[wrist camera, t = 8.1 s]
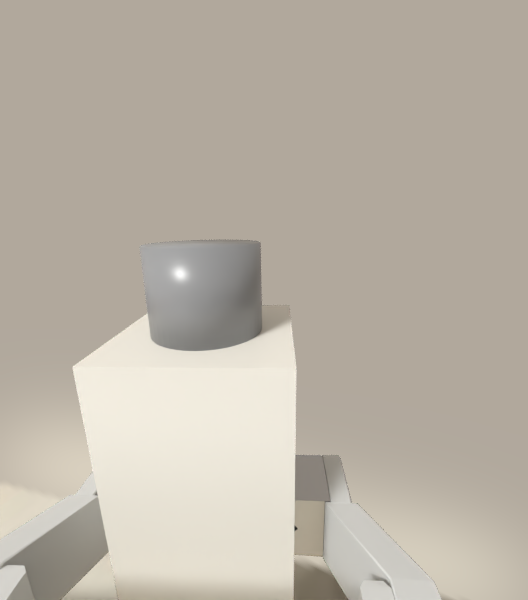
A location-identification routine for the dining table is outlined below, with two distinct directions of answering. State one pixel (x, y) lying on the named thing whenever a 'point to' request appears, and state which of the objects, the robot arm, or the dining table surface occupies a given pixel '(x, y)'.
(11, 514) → the dining table surface
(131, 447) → the plug
